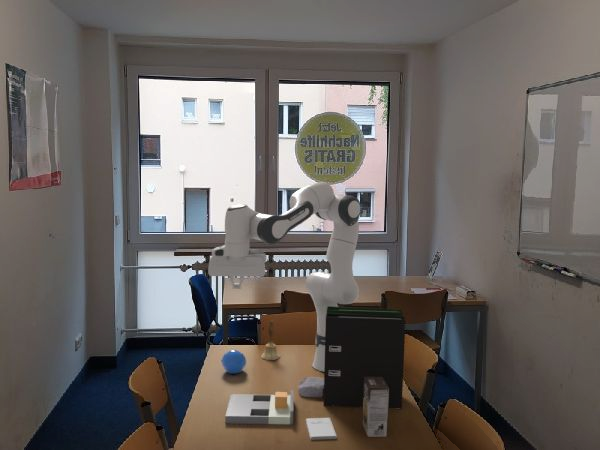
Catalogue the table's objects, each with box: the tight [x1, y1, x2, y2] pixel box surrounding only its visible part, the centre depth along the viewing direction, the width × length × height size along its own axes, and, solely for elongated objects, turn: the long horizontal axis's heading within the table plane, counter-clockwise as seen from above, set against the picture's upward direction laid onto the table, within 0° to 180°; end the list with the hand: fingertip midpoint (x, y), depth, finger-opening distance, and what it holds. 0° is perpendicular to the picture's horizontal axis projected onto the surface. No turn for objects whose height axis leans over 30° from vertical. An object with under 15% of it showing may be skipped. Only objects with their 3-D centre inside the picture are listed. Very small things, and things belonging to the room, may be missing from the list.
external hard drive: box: [305, 417, 338, 441], centre depth 180 cm, size 2×8×12 cm
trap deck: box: [224, 389, 294, 425], centre depth 191 cm, size 22×17×4 cm
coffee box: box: [362, 377, 389, 438], centre depth 179 cm, size 9×6×16 cm
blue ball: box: [221, 350, 247, 375], centre depth 226 cm, size 10×12×10 cm
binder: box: [323, 306, 406, 409], centre depth 201 cm, size 27×15×32 cm, turn 85°
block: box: [274, 391, 288, 408], centre depth 191 cm, size 4×4×4 cm
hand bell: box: [260, 320, 281, 361], centre depth 243 cm, size 8×8×16 cm
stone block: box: [297, 376, 324, 398], centre depth 210 cm, size 12×5×10 cm
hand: (236, 288), depth 202 cm, fingers closed
